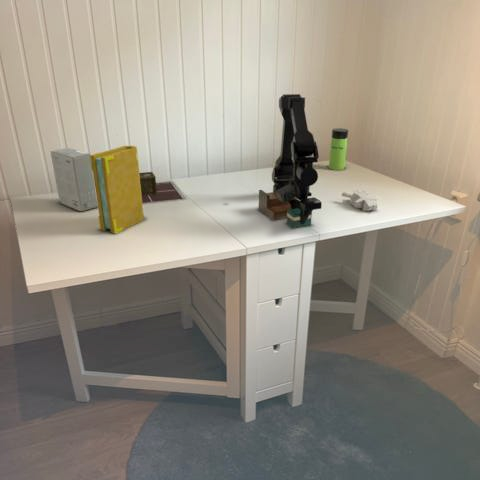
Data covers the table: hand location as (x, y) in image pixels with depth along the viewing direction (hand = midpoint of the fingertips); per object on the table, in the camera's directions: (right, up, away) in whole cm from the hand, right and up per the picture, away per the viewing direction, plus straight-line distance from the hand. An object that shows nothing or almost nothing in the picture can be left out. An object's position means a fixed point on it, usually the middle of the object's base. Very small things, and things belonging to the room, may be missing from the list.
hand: (298, 221), depth 181 cm
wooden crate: (-59, +18, +31) cm, 69 cm away
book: (-61, -1, +1) cm, 61 cm away
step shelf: (-5, +5, +11) cm, 13 cm away
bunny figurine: (+25, +9, +17) cm, 32 cm away
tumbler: (+25, +37, +64) cm, 78 cm away
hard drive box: (-83, +10, +18) cm, 85 cm away
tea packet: (0, -1, +1) cm, 1 cm away
